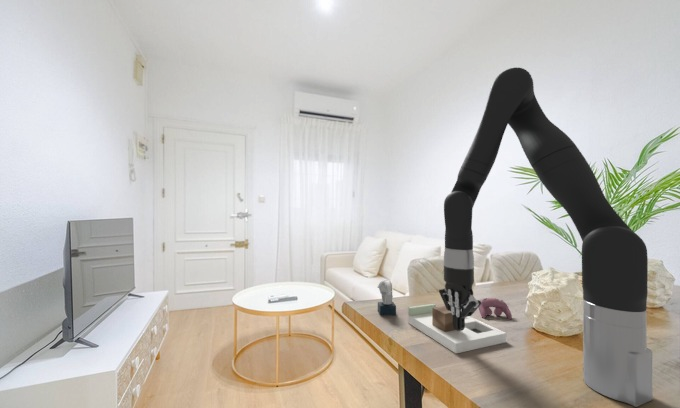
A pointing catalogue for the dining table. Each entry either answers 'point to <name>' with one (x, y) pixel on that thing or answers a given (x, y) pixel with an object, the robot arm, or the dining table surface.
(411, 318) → the board
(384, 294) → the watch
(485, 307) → the video game controller
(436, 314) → the walnut block
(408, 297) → the dining table surface
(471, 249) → the robot arm
